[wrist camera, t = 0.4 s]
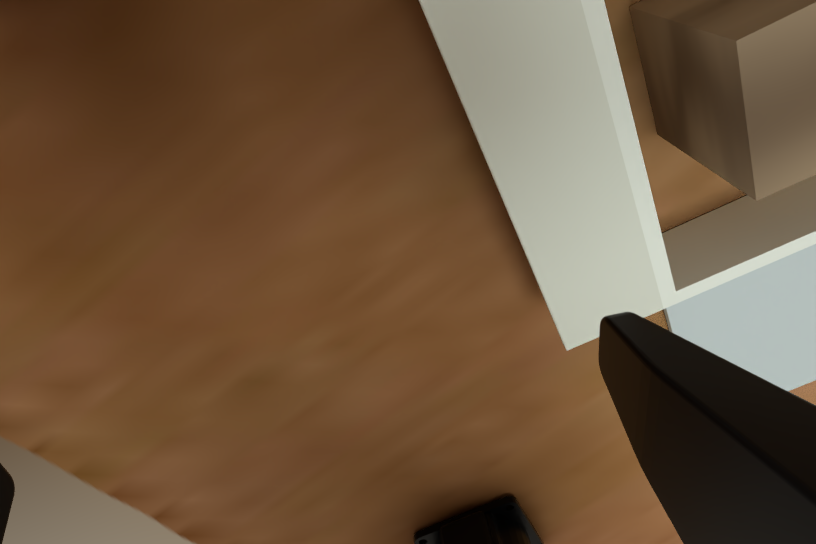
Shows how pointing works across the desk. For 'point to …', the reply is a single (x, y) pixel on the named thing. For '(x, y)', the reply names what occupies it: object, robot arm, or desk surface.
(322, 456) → the desk surface
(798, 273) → the mat
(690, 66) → the box
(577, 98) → the white shallow rectangular tray
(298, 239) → the desk surface
